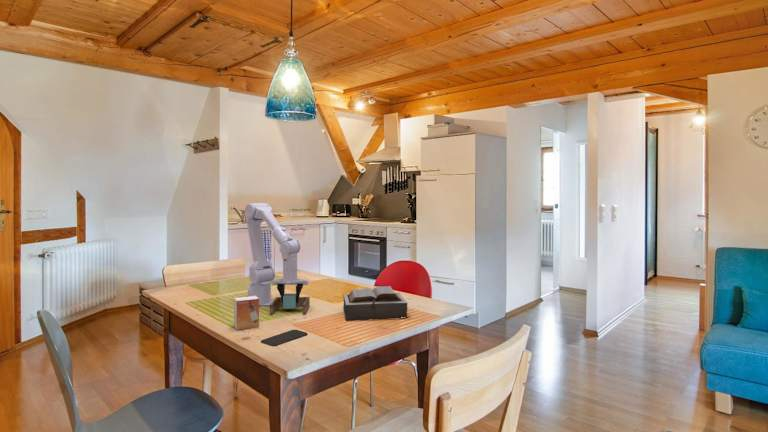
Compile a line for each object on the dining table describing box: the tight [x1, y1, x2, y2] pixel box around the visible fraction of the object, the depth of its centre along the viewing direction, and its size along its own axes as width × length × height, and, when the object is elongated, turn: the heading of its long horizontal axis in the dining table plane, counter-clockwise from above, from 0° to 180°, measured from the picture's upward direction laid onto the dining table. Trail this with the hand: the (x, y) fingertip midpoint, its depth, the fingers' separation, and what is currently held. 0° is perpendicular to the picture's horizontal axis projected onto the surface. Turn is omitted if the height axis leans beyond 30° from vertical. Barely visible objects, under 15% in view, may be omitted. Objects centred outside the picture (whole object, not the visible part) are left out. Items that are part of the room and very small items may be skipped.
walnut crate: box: [269, 296, 311, 316], centre depth 179 cm, size 14×14×4 cm
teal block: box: [282, 293, 298, 310], centre depth 179 cm, size 5×5×5 cm
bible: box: [342, 285, 408, 322], centre depth 176 cm, size 23×27×10 cm
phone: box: [260, 329, 308, 347], centre depth 145 cm, size 7×1×15 cm
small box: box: [233, 296, 260, 331], centre depth 157 cm, size 8×6×10 cm
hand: (290, 302), depth 179 cm, fingers closed on teal block, 5 cm apart
